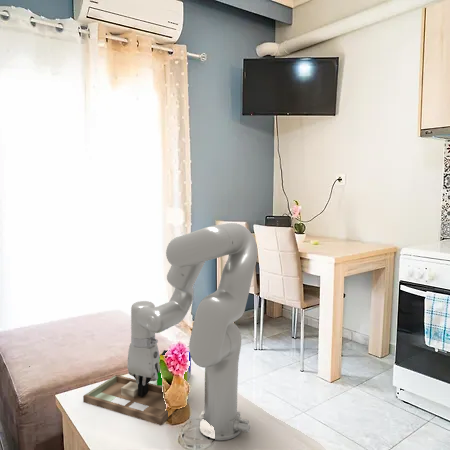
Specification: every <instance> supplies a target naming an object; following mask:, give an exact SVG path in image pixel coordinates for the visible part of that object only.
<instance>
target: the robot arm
mask: <svg viewBox="0 0 450 450" xmlns="http://www.w3.org/2000/svg"><path fill="white" fill-rule="evenodd" d="M165 256H166V259H167V261H168V263H169V264H170V265H171V266H170V267H169V270H168V272H167V274H166V280H167V282H168V283H169V284H170V286H172V287H173V288H174V291H173V293H172V295H171V297H170V299H169V301H168V302H165V303H163V304H160V305H159V306H155V304H154V303H153V302H152V301H147V300H140V301H137V302H134V303H132V305H131V308H130V309H131V310H130V312H131V313H130V319H131V320H130V326H131V327H130V329H131V330H130V335H131V336H130V340H131V341H130V343H129V348H128V351H127V354H128V355H127V371H128V375H130V376H132V377H133V379H135V380H136V383H137V384H138V396H141V397H143V396H145V395H146V394H147V393H148V383H150V382H157V379H158V375H157V373H159V372H160V365H159V362H160V349H159V347H158V343H159V340H158V339H156V334H160V333H162V332H165V331H166V330H168V329H170V328H172V327H174V326H175V325H179V324H180V323H181V322H182V321H183V320H184V319H185V317H186V316H187V314H188V312H189V310H190V308H191V307H192V306H191V305H193V300H194V285H195V283H196V281H197V280H198V279H197V278H198V277H199V275H200V273H201V271H202V269H203V267H204V265H205V263H206V261H207V262H208V261H211V260H214V259H217V258H219V259H220V258H221V257H225V256H228V258H227V260H226V263H225V264H224V266H223V269H222V272H221V277H220V280H219V285H218V288H217V289H216V291H214V292H212V293H209V294H208V295H206V296H204V297H203V298H202V300H201V301H200V302H199V304H198V306H197V309H196V311H195V316H194V319H193V324H192V329H191V334H190V336H189V337H190V338H189V343H188V350H189V351H188V352H190V356H191V361H193V363H194V364H195V365H196V366H197V367H199V368H203V369H204V411H203V412H204V415H203V417H202V418H201V419H204V420H206V421H207V422H208V423H209V424H210V425H212V426H213V427H214V430H215V441H227V440H228V441H229V440H232V439H233V438H236V437H238V436H239V435H240V434H241V433H242V432H245V433H249V432H250V429H251V425H250V421H249V419H244V418H242V417H241V412H240V411H238V388H239V387H238V386H239V385H238V384H239V383H238V381H239V362H240V361H239V360H240V353H241V349H242V348H241V347H242V335H241V330H240V328H239V327H238V326H237V324H236V323H234V322H236V321H238V320H239V319H240V318H241V317H243V315H244V313H245V310H246V308H247V307H246V306H247V302H248V298H249V293H250V290H251V289H250V288H251V286H252V281H253V277H254V272H255V269H256V264H257V262H258V261H257V260H258V244H257V241H256V238H255V236H254V235H253V233H252V232H251V231H250V230H249V229H248V228H247V227H246V226H244V225H242V224H241V223H236V222H229V223H221V224H216V225H210V226H206V227H203V228H200V229H197V230H194V231H192V232H189V233H185V234H182V235H179V236H177V237H174V238H173V239H172V240H170V241H169V243H168V244H167V246H166V251H165Z"/></svg>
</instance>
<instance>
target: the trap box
mask: <svg viewBox="0 0 450 450" xmlns="http://www.w3.org/2000/svg"><path fill="white" fill-rule="evenodd" d="M130 381H131V382H135V383H136V379H135V378H132V377H128V376H127V377H126V376H123V375H119V374H115V375H114V376H112V377H110V378H108V380H106V381H104V382H103V383H101V384H100V385H98V386H97V387H95V388H93V389H92V390H89V392H87V393H86V394H84V395H83V403H86V404H89V405H91V406H95V407H99V408H101V409H106V410H109V411H112V412H114V413H118V414H121V415H124V416H125V415H126V416H129V417H132V418H134V419H138V420H142V421H146V422H148V423H151V424H155V425H159V426H162V425H163V424H164V423H165V422H166V421H167V420H168V419H169V418H168V411H167V410H166V411H165V409H166V404H165V401H164V398H163V392H162V387H163V386H159V385H157V384H154V383H150V382H149V383H148V393H147V394H146V395H145V396H143V397H141V396H137V397H135V398H134V399H133V398H130V397H126V396H122V395H121V388H122V387H123V386H125V385H126V384H128V383H129V382H130ZM117 398H118V399H122V400H125V401H128V402H127V403H126V404H125V405H123V404H120V403H117V402H113V400H115V399H117ZM134 403H136V404H140V405H144V406H147V407H146V408H145V409H144V410H140V409H137V408H134V407H130V406H131V405H133V404H134Z"/></svg>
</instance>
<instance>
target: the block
mask: <svg viewBox="0 0 450 450" xmlns="http://www.w3.org/2000/svg"><path fill="white" fill-rule="evenodd" d="M121 395H122V396H126V397H130V398H133V399H134V398H135V397H137V396H138V384H137V383H135V382H131V381H130V382H129V383H128V384H126V385H125V386H123V387H122V388H121Z"/></svg>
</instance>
